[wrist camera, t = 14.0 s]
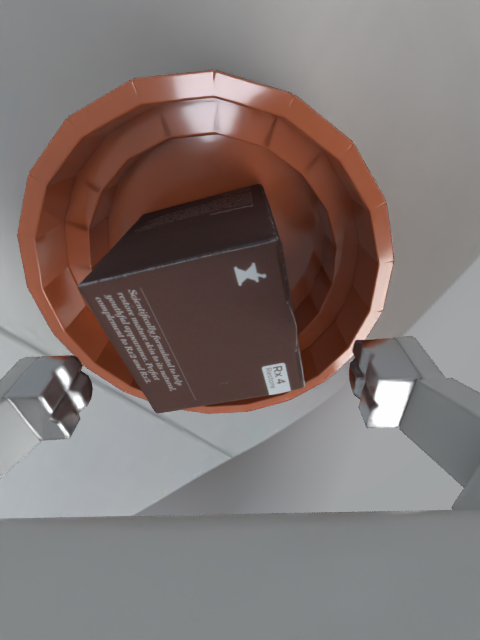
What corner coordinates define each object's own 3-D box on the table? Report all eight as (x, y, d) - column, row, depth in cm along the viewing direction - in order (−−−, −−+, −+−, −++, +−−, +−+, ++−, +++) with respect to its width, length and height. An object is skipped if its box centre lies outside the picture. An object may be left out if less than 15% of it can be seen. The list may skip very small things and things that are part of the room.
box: (140, 210, 14) (67, 281, 8) (264, 179, 14) (283, 232, 8) (182, 313, 18) (152, 417, 12) (283, 293, 17) (307, 393, 11)
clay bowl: (373, 68, 12) (444, 43, 8) (336, 345, 20) (362, 406, 16) (27, 105, 12) (-78, 100, 8) (127, 358, 21) (99, 420, 16)
